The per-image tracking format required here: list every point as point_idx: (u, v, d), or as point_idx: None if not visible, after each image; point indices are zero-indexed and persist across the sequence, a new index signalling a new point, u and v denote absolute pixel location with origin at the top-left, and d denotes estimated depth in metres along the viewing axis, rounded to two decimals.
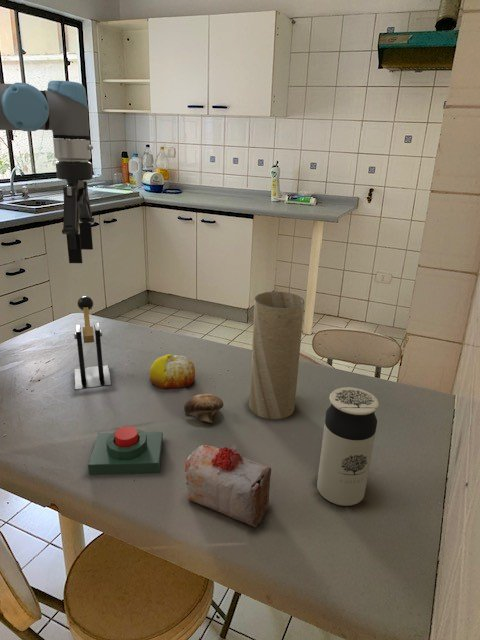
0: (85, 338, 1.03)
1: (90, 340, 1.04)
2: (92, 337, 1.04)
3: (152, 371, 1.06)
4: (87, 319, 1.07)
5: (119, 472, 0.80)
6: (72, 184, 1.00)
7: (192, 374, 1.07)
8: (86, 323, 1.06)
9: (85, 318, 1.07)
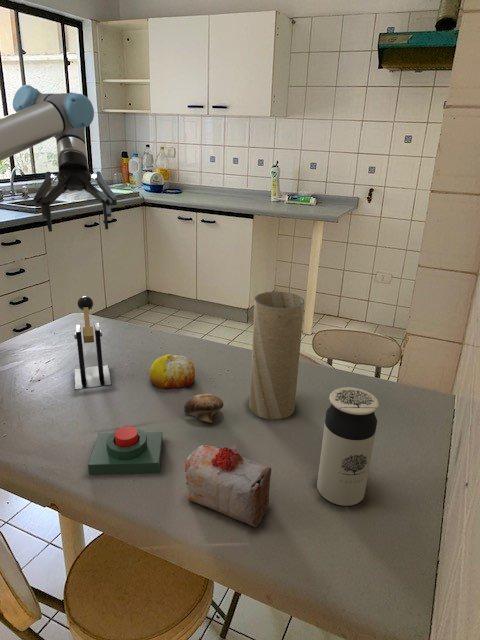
0: (85, 338, 1.03)
1: (90, 340, 1.04)
2: (92, 337, 1.04)
3: (152, 371, 1.06)
4: (87, 319, 1.07)
5: (119, 472, 0.80)
6: None
7: (192, 374, 1.07)
8: (86, 323, 1.06)
9: (85, 318, 1.07)
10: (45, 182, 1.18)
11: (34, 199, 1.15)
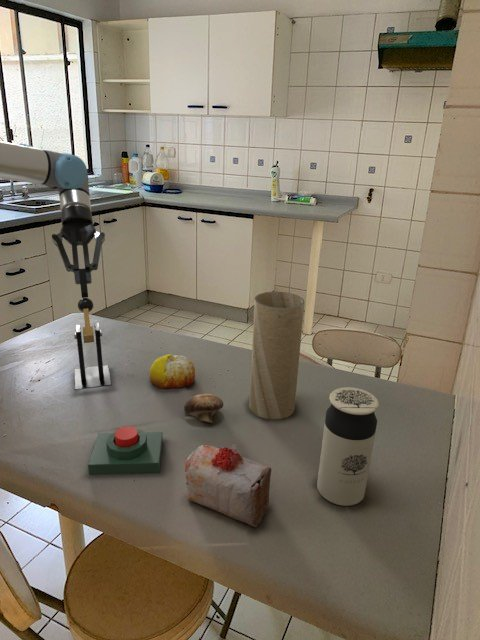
0: (85, 338, 1.03)
1: (90, 340, 1.04)
2: (92, 337, 1.04)
3: (152, 371, 1.06)
4: (87, 320, 1.07)
5: (119, 472, 0.80)
6: None
7: (192, 374, 1.07)
8: (86, 323, 1.07)
9: (85, 319, 1.08)
10: (60, 245, 1.13)
11: (67, 265, 1.11)
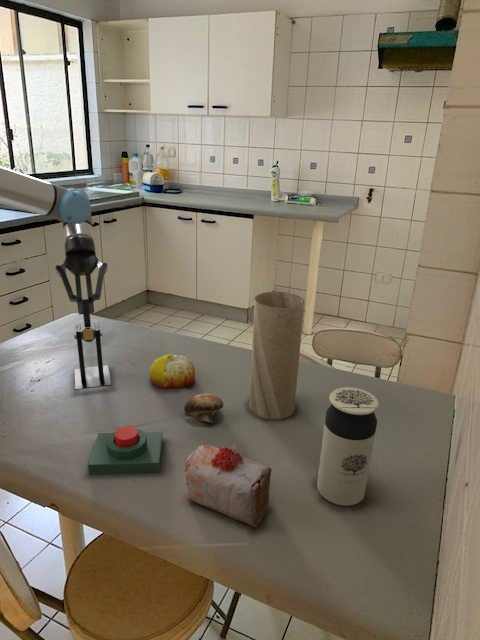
0: (84, 333, 1.03)
1: (89, 336, 1.04)
2: (91, 332, 1.04)
3: (152, 371, 1.06)
4: None
5: (119, 472, 0.80)
6: None
7: (192, 374, 1.07)
8: None
9: None
10: (63, 276, 1.16)
11: (71, 296, 1.14)
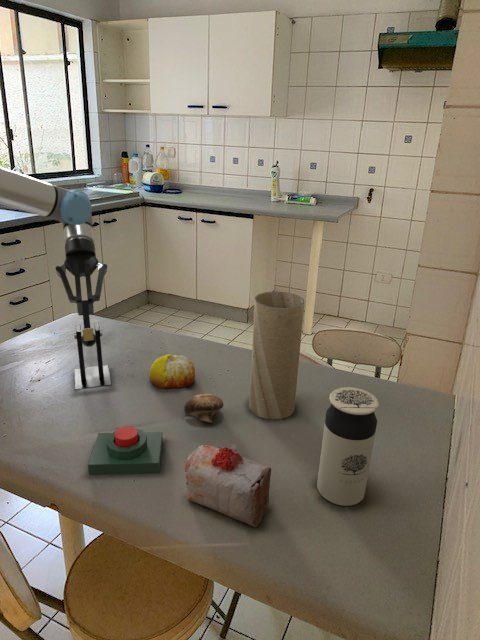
0: (84, 332, 1.03)
1: (89, 336, 1.04)
2: (91, 331, 1.04)
3: (152, 371, 1.06)
4: None
5: (119, 472, 0.80)
6: None
7: (192, 374, 1.07)
8: None
9: None
10: (63, 277, 1.16)
11: (71, 297, 1.15)
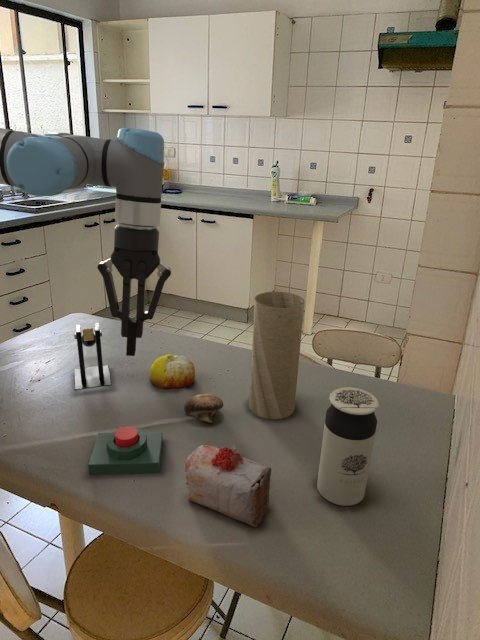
0: (84, 332, 1.03)
1: (89, 336, 1.04)
2: (91, 331, 1.04)
3: (152, 371, 1.06)
4: None
5: (119, 472, 0.80)
6: (157, 255, 0.82)
7: (192, 374, 1.07)
8: None
9: None
10: (107, 283, 0.81)
11: (114, 315, 0.83)
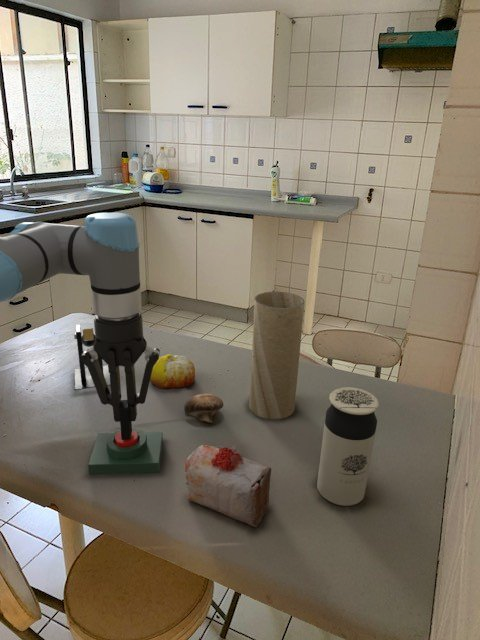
0: (84, 332, 1.03)
1: (89, 336, 1.04)
2: (91, 331, 1.04)
3: (152, 371, 1.06)
4: None
5: (119, 472, 0.80)
6: (142, 338, 0.76)
7: (192, 374, 1.07)
8: None
9: None
10: (93, 373, 0.76)
11: (104, 403, 0.79)
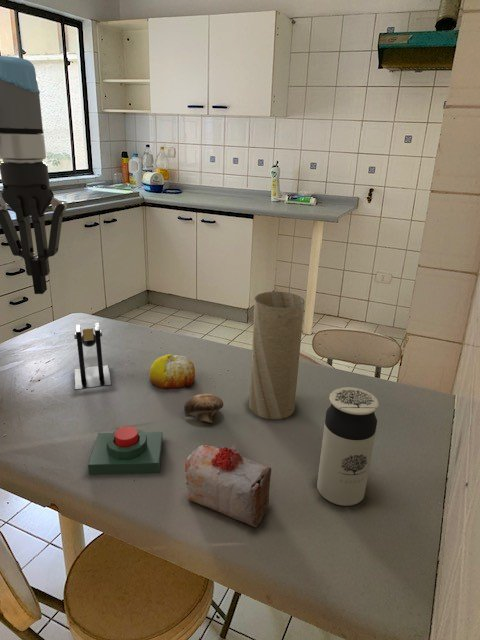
0: (84, 332, 1.03)
1: (89, 336, 1.04)
2: (91, 331, 1.04)
3: (152, 371, 1.06)
4: None
5: (119, 472, 0.80)
6: (49, 189, 0.81)
7: (192, 374, 1.07)
8: None
9: None
10: (2, 221, 0.81)
11: (15, 254, 0.84)
